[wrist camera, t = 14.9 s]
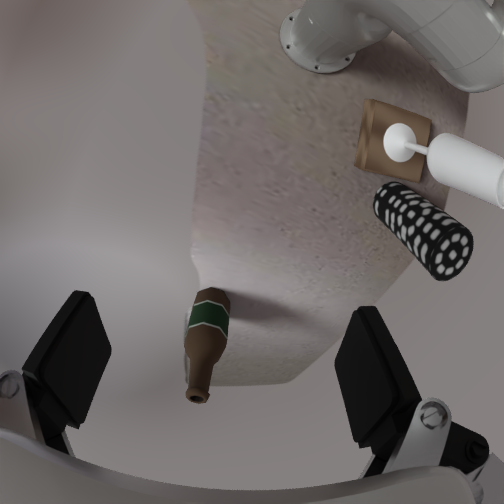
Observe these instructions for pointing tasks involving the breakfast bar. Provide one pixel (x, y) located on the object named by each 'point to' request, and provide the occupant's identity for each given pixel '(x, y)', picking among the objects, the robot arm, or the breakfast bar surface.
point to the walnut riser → (372, 136)
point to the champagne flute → (452, 162)
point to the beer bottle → (205, 340)
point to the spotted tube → (424, 230)
